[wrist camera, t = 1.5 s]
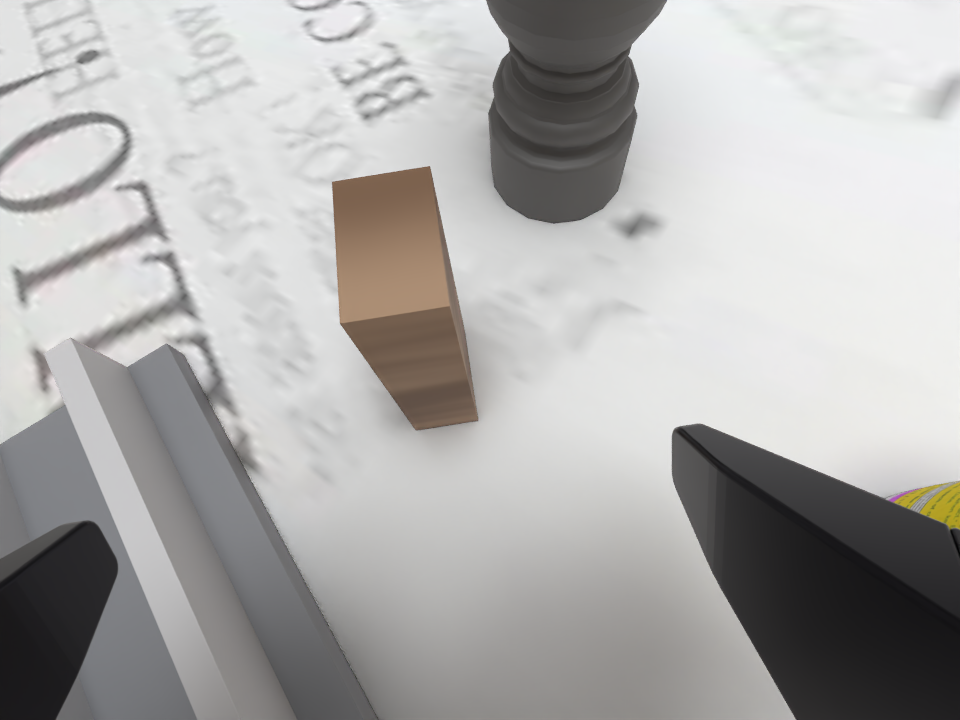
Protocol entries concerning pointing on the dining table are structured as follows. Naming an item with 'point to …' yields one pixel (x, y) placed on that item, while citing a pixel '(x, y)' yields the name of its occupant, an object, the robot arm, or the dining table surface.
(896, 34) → the dining table surface
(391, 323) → the brown wooden block
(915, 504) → the supplement bottle
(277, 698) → the grey long channel piece
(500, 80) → the candle holder
